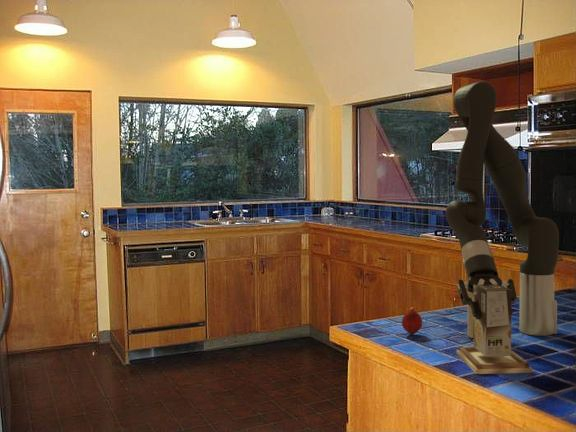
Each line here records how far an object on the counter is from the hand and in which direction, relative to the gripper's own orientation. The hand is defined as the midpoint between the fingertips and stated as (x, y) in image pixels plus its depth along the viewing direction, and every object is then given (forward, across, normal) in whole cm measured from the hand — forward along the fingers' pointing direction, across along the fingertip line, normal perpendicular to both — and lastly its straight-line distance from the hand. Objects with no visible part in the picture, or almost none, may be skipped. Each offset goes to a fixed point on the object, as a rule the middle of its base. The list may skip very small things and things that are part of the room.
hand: (493, 317), depth 148 cm
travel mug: (-9, +5, +26) cm, 28 cm away
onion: (-12, -14, +29) cm, 34 cm away
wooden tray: (+7, 0, +9) cm, 12 cm away
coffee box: (+5, 0, +8) cm, 9 cm away
